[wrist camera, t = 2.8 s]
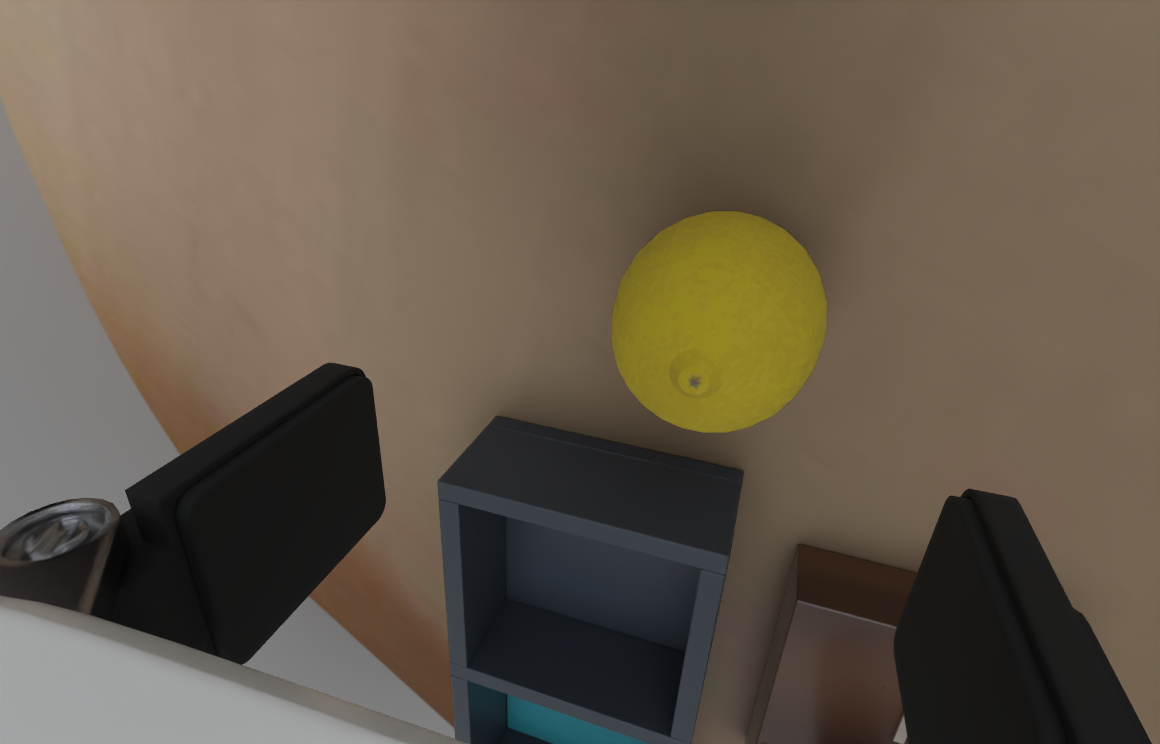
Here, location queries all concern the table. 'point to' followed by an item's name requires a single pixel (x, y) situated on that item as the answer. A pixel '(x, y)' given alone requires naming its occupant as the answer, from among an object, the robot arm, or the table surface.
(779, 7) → the table surface
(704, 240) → the lemon
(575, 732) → the compartment box
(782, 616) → the tap panel
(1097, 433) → the table surface
